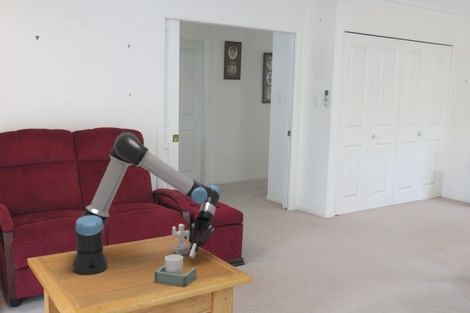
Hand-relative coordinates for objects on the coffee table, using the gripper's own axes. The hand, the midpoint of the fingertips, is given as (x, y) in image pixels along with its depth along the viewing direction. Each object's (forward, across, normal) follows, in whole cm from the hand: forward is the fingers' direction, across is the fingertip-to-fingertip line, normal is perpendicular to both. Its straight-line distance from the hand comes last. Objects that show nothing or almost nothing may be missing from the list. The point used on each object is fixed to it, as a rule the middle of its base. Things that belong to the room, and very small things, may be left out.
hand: (191, 257), depth 221 cm
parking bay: (+15, 0, +8) cm, 17 cm away
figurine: (-7, +12, -14) cm, 20 cm away
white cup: (+16, +1, +8) cm, 18 cm away
